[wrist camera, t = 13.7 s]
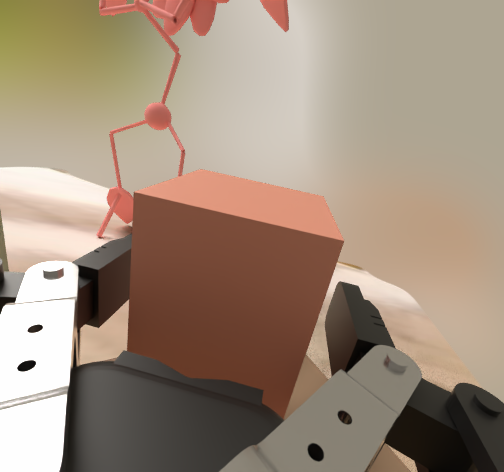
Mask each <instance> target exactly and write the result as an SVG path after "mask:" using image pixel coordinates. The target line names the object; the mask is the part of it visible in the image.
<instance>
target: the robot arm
mask: <svg viewBox="0 0 504 472" xmlns="http://www.w3.org/2000/svg"><path fill="white" fill-rule="evenodd" d="M131 247H132V234H130V235H128V236H126V237H125V238H121V239H117V240H113V241H110V242H108V243H106V244H104V245H102V246H101V247H99V248H97V249H95V250H94V252H93V251H92V252H90V253H88V254H86V255H84V256H83V257H81V258H79V259H77V260H75V261H73V262H72V263H71V262H66V261H50V262H44V263H40V264H37V265H35V266H33V267H31V268H30V269H28V270H27V272H26V273H20V272H5V271H4V270H3V263H2V260H1V259H0V472H369V470H370V468H371V467H372V465H373V463H374V462H375V460H376V458H377V457H378V455H379V453H380V452H381V450H382V448H383V447H384V445H385V443H386V444H387V445H389V446H391V447H392V448H394V449H396V450H397V451H399V452H401V453H402V454H404V455H406V456H407V457H409V458H411V459H412V460H414V461H415V464H416V467H417V471H418V472H504V403H503V402H501V401H500V400H499V399H498V398H496V397H495V396H493V395H492V394H490V393H489V392H487V391H485V390H484V389H482V388H480V387H477V386H475V385H472V384H468V383H459V384H457V385H456V386H455V388H454V389H453V391H452V392H449V391H446V390H444V389H442V388H440V387H438V386H436V385H434V384H432V383H430V382H428V381H426V380H424V379H423V378H422V374H421V371H420V368H419V367H418V365H417V364H416V363H415V362H414V361H413V360H412V359H411V358H410V357H409V356H407V355H406V354H405V353H403V352H401V351H400V350H398V349H396V348H395V346H394V344H393V341H392V339H391V337H390V335H389V333H388V331H387V328H386V327H385V324H384V322H383V320H382V318H381V315H380V313H379V311H378V309H377V308H376V307H375V306H374V305H373V304H372V303H371V302H370V301H368V300H364V298H363V296H362V293H361V291H360V289H359V286H357V285H352V284H348V283H344V282H338V284H337V286H336V289H335V292H334V294H333V297H332V300H331V303H330V306H329V309H328V312H327V315H326V320H325V331H326V338H327V345H328V352H329V359H330V366H331V374H332V377H331V378H330V379H329V380H328V381H327V382H326V383H325V384H324V385H322V386H321V387H320V388H319V389H318V390H317V391H316V392H315V393H314V394H313V395H312V396H311V397H309V398H308V399H307V400H306V401H305V402H304V403H303V404H302V405H301V406H300V407H299V408H298V409H296V410H295V411H294V412H293V413H292V414H291V415H290V416H289V417H288V418H287V419H286V420H284V419H283V418H282V417H281V416H279V415H278V414H277V413H276V412H275V411H273V410H272V409H271V408H269V407H268V406H266V405H265V404H263V403H262V398H263V391H264V390H261V389H258V388H254V387H251V386H247V385H244V384H240V383H237V382H233V381H230V380H218V379H200V378H189V377H186V376H184V375H183V374H181V373H179V372H177V371H176V370H174V369H172V368H171V367H169V366H167V365H165V364H164V363H162V362H160V361H158V360H156V359H153V358H149V357H146V356H142V355H139V354H135V353H132V352H128V351H125V350H124V351H123V352H122V353H121V354H120V356H119V357H118V358H117V359H116V360H115V361H99V362H92V363H88V364H83V365H80V345H81V327H82V326H83V325H85V324H87V325H90V326H94V327H97V328H99V327H100V326H101V325H102V324H103V323H104V322H105V321H106V320H108V319H109V318H110V317H111V316H112V315H113V314H114V313H115V312H116V311H117V310H118V309H119V308H120V307H121V306H122V305H123V304H124V303H125V302H126V301H127V300H129V295H130V271H131Z"/></svg>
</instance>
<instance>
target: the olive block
mask: <svg viewBox="0 0 504 472" xmlns="http://www.w3.org/2000/svg"><path fill="white" fill-rule="evenodd" d="M0 259H1V260H2V263H3V270H4V271H5V272H9V269H8V262H7V255H6V247H5V240H4V233H3V226H2V218H1V211H0Z"/></svg>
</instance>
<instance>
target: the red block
mask: <svg viewBox="0 0 504 472" xmlns="http://www.w3.org/2000/svg"><path fill="white" fill-rule="evenodd" d="M343 243H344V240H343V237H342V235H341V233H340V231H339V229H338V227H337V225H336V222H335V220H334V218H333V216H332V214H331V212H330V210H329V207H328V205H327V203H326V201H325V199H324V197H323V196H319V195H315V194H310V193H306V192H301V191H297V190H292V189H288V188H283V187H279V186H274V185H270V184H266V183H261V182H256V181H252V180H248V179H243V178H238V177H234V176H229V175H225V174H220V173H216V172H211V171H207V170H202V169H200V170H197V171H194V172H191V173H188V174H185V175H182V176H179V177H176V178H173V179H170V180H168V181H165V182H162V183H159V184H156V185H153V186H150V187H147V188H144V189H141V190H138V191H135V192H134V199H133V223H132V247H131V271H130V295H129V319H128V343H127V351H128V352H132V353H135V354H139V355H142V356H146V357H149V358H153V359H156V360H158V361H160V362H162V363H164V364H165V365H167V366H169V367H171V368H172V369H174V370H176V371H177V372H179V373H181V374H183V375H184V376H186V377H189V378H200V379H218V380H230V381H233V382H237V383H240V384H244V385H247V386H251V387H254V388H258V389H261V390H264V391H263V398H262V403H263V404H265V405H266V406H268V407H269V408H271V409H272V410H273V411H275V412H276V413H277V414H278V415H279V416H281V417H282V418H283V419H284V416H285V413H286V410H287V407H288V404H289V402H290V399H291V396H292V393H293V390H294V387H295V384H296V381H297V378H298V375H299V372H300V369H301V366H302V363H303V360H304V357H305V355H306V352H307V349H308V346H309V343H310V340H311V337H312V334H313V331H314V328H315V325H316V322H317V319H318V316H319V313H320V310H321V308H322V305H323V302H324V299H325V296H326V293H327V290H328V287H329V284H330V281H331V278H332V275H333V272H334V269H335V266H336V263H337V261H338V257H339V254H340V252H341V249H342V246H343Z"/></svg>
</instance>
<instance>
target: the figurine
mask: <svg viewBox="0 0 504 472" xmlns="http://www.w3.org/2000/svg"><path fill="white" fill-rule="evenodd" d="M148 1H149V0H134V4H129V5H125V4H126V3H127V0H100V4H99V9H100V15H101V16H103V15H112V16H114V15H116V14H118V13H125V12H131V11H137V10H138V11H139V12H143V13H144V14H145V16H146V17H147V18H148V19H149V21H150V22H151V23H152V24H153V26H154V27H155V28H156V29H157V31H158V32H159V33H160V34H161V36H162V37H163V38H164V39H165V41H166V42H167V43H168V44H169V45H170V47H171V48H172V49H173V51H174V52H175V53H176V54H175V58H174V61H173V64H172V67H171V71H170V74H169V77H168V81H167V84H166V88H165V91H164V95H163V98H162V102H161V103H152V104H150V105H148V106H147V108H146V110H145V120H143V121H140V122H137V123H134V124H131V125H128V126H125V127H121V128H119V129H115V130H112V131H110V133H111V134H109V135H110V141H111V147H112V152H113V158H114V165H115V170H116V176H117V182H118V187H113V188H110V190H109V193H108V196H107V201H108V204H109V206H110V209H109V211H108V213H107V215H106V217H105V219H104V221H103V223H102V225H101V227H100V229H99V231H98V233H97V236H99V237H101V236H102V234H103V232H104V230H105V228H106V226H107V224H108V222H109V220H110V218H111V216H112V214H113V212H115V213H116V214H117V215H118V216H119V217H120V218H121V219H122V220H123V221H124V222H125V223H127V224H128V223H130V222H131V221H132V220H133V197H132V196H131V194H130V193H129V192H127V191H126V190H124V189H123V188H122V187H121V180H120V175H119V168H118V162H117V156H116V150H115V143H114V138H113V134H114V133H117V132H120V131H123V130H126V129H129V128H133V127H136V126H139V125H142V124H145V123H148V125H149V126H150V127H152V128H154V129H156V130H163V129H166V128H167V127H169V129H170V131H171V132H172V135H173V136H174V138H175V140H176V142H177V144H178V146H179V148H180V150H181V159H180V165H179V172H178V177H179V176H182V170H183V164H184V157H185V150H184V148H183V146H182V144H181V142H180V140H179V139H178V137H177V135H176V133H175V131H174V129H173V127H172V126H171V124H170V123H171V114H170V112H169V110H168V108H167V107H166V106H165V105H164V104H165V101H166V98H167V95H168V92H169V89H170V86H171V83H172V81H173V78H174V75H175V72H176V69H177V66H178V63H179V60H180V57H181V55H179V53H177V52H178V51H179V48H178V47H177V46H176V45H175V43H174V42H173V41H172V40H171V38H170V37H169V36H171V35H174V34H175V33H176V32H178V31H179V30H180V29H181V27H182V26H183V25H184V23H185V22H186V21H187V19H188V18H189V16H190V18H191V22H192V26H193V30H194V32H195V33H197V34H198V35H199V36H205V35H206V34H207V32H208V31H209V30H210V27H211V25H212V22H213V20H214V15H215V10H216V5H217V2H218V3H227V2H228V1H229V0H153V5H151V4H149V3H148ZM260 1H261V3H262V5H263V6H264V8H265V9H266V11H267V12H268V13H269V14H270V15H271V16H272V18H273V19H274V20H275V21H276V23H277V24H278V25H279V26H280V27H281V28H282V29H283V30H284V31H285V32H286V31H288V29H289V24H288V23H289V17H288V7H287V6H288V5H287V0H260ZM106 7H107V8H106ZM148 10H149V11H151V12H152V13H153V15H154V16H155V17H156V18H161V19H164V30H163V29H162V27H161V26H160V25H159V24H158V22H157V21H156V20H155V19H154V18H153V16H152V15H151V14H150V13H149V11H148Z"/></svg>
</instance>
